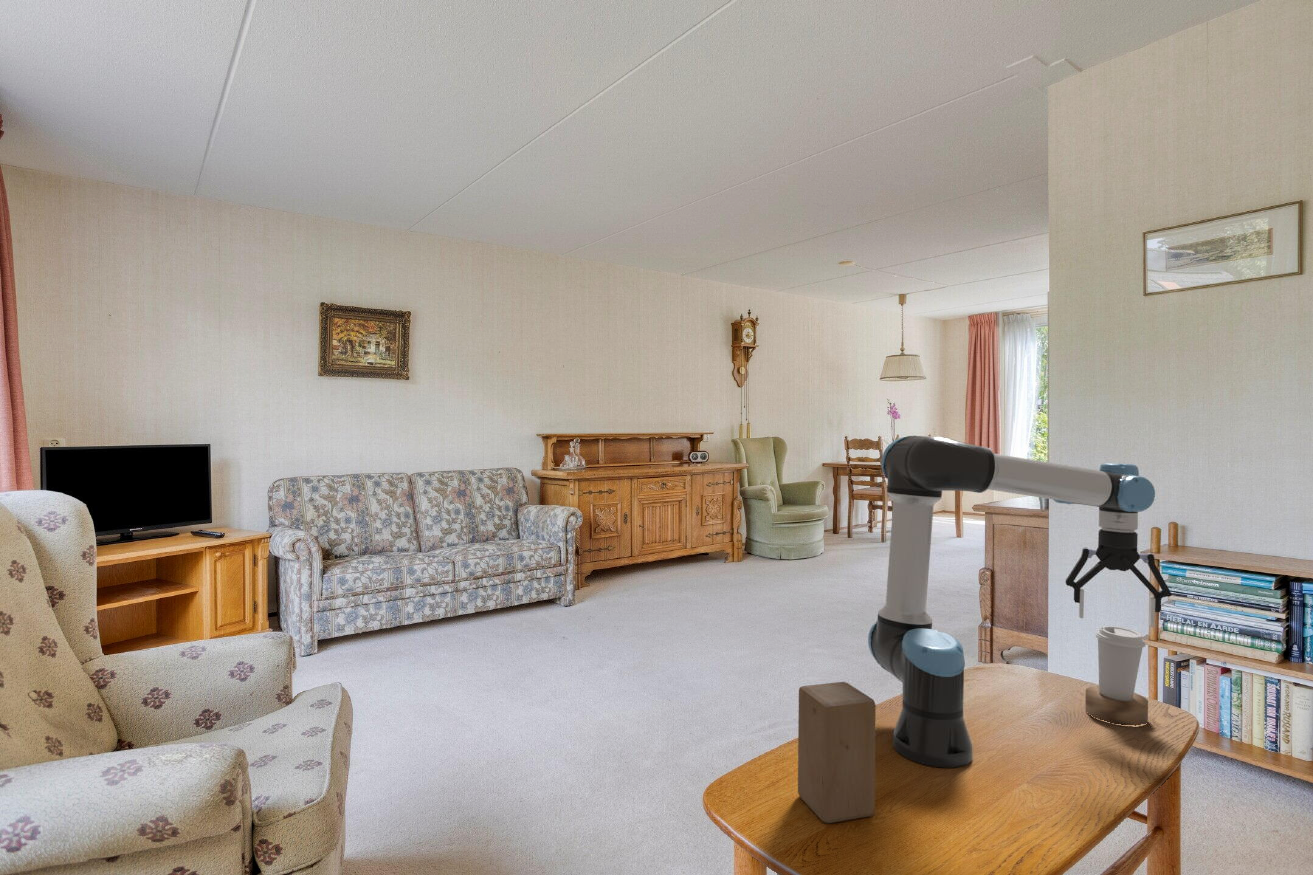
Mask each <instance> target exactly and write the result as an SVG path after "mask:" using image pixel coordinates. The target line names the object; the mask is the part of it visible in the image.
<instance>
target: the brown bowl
mask: <svg viewBox="0 0 1313 875" xmlns="http://www.w3.org/2000/svg"><path fill="white" fill-rule="evenodd" d="M1084 705H1085V710H1086V711H1085V713H1086V712H1088V714H1090V715H1092V716H1093V717H1095V718H1098V719H1100V720H1104V721H1107V722H1110V723H1114V724H1121V725H1135V726H1136V725H1141V724H1146V723H1147V722H1148V723H1149V701H1148V699H1147V698H1146V697H1145V696H1143V695H1141V694H1139V693H1136V692H1134V695H1133V699H1132V700H1131V701H1120V700H1115V699H1111V698H1108V697H1106V696H1104V695H1102V694H1101V693H1100V692H1099V685H1097V686H1096V685H1094V686H1089V687H1087V688H1086V689H1085V704H1084ZM1088 714H1087V715H1088Z"/></svg>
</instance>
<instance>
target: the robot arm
mask: <svg viewBox="0 0 1313 875" xmlns="http://www.w3.org/2000/svg"><path fill="white" fill-rule="evenodd" d="M880 465H881V466H880V467H881V471H882V473H883V475H884V477H885V479H887V482H886V483H887V484H886V488H887V489H886V494H887V495H888V496H889V497H890V499H891V500H892V513H891V525H890V526H891V528H890V529H891V530H890V538H889V539H890V541H889V542H890V543H889V554H888V555H889V556H888V566H887V567H888V568H887V581H886V582H887V583H886V596H885V605H884V606H883V607H882V608H881V609H879V610H878V611H877V620H876V621H875V623H874V624H872V626H871V627H870V629H869V632H868V636H867V637H868V638H867V642H868V648H869V652H870V654H871V656H872V657H873V659H874V660H875V661H876V663H877V664H878V665H879V666H881V668H882V669H884V670H885V671H886V672H888V673H890V674H891V675H893V676H894V677H895V678H896V679H897V680H898V681H900V682H901V683H902V693H901V694H902V699H901V700H902V704H901V705H902V706H901V708H902V709H901V711H900V713H899V716H898V719H897V721H896V725H895V728H894V730H893V735H892V738H893V739H892V744H893V748H894V749H895V751H896V752H897V753H898V754H900V755H901V756H902V757H904V758H906V759H908V760H910V761H913V762H916V763H919V764H922V765H926V766H930V767H937V768H958V767H959V768H960V767H963V766H966V765H968V764H970V763H971V762H972V760H973V749H974V748H973V743H972V740H971V738H970V735H969V732H968V731H969V730H968V729H967V725H966V722H965V719H964V695H965V694H964V692H965V691H964V690H965V689H964V688H965V687H964V685H965V683H964V682H965V681H964V680H965V666H966V663H965V662H966V661H965V655H964V653H965V652H964V648H963V646H962V644H961V642H960V641H959V640H958V639H957V638H955V637H954V636H952V635H951V634H949V633H946V632H940V631H939V630H937V629H933V618H932V617H931V616H930V614H928V612H927V598H928V587H929V586H928V585H929V573H930V572H929V571H930V558H931V546H932V531H933V530H932V529H933V521H934V520H933V519H934V506H935V504H936V503H938V502H940V500H942V496H943V492H945V491H947V492H950V491H951V492H952V491H954V492H955V491H958V492H971V493H977V494H983V493H985V492H986V491H989V490H990V491H996V492H1004V493H1011V494H1016V495H1023V496H1029V497H1034V498H1042V499H1048V500H1053V501H1054V502H1055V503H1057V504H1066V505H1084V506H1090V507H1096V508H1097V507H1098V527H1099V528H1100V529H1099V530H1098V534H1097V535H1098V537H1097V538H1098V541H1097V549H1093V548H1092V549H1091V548H1088V547H1083V548H1082V550H1081V556H1080V557H1079V559H1078V561H1077V562H1076V564H1075V565H1074V567H1073V568H1072V570H1071V571H1070V573H1069V574H1068V576H1067V577H1066V579H1065V581H1064V582H1065V585H1066V586H1067V587H1071V588H1073V602H1074V603H1077V604H1078V617H1079V618H1080V619H1084V608H1085V607H1084V606H1085V605H1084V602H1085V589H1084V588H1083V587H1084V586H1085V585H1086V584H1087V583H1088V582H1090V581H1091V580H1092V579H1093V578H1095V576H1096V575H1098V574H1099V573H1100V572H1102V571H1103V570H1104V569H1105V568H1106V569H1107V570H1109V571H1121V572H1127V571H1129V570H1130V571H1131V572H1132V573H1133V574H1134V575H1135V576H1136V578H1138V580H1139V581H1140V582H1141V583H1142V585H1144V587H1146V588H1147V590H1149V592H1150V593H1151V594H1152V595H1149V596H1148V597H1149V599H1148V600H1149V601H1148V625H1149V627H1150V628H1155V625H1156V621H1155V620H1156V613H1161V612H1162V599H1163V598H1167V597H1172V592H1171V590H1170V588H1169V587H1168V584H1167V583H1166V581H1165V579H1164V578H1163V576H1162V574H1161V573H1160V570H1159V569H1158V567H1157V565H1156V561H1155V560H1156V559H1155V556H1154V554H1153V553H1151V552H1147V553H1139V552H1138V551H1139V550H1138V533H1137V532H1136V531H1137V530H1138V529H1139V528H1138V526H1139V524H1138V523H1139V522H1138V521H1139V513H1140V512H1144V511H1146V510H1148V509H1149V508H1150V507H1151V506H1152V505H1153V504H1154V502H1155V496H1156V490H1155V487H1154V485H1153V483H1152V482H1151V481H1150V479H1148V478H1146V477H1144V476H1140V473H1139V467H1138V466H1137V465H1136V464H1133V463H1120V462H1119V463H1113V462H1106V463H1105V462H1104V463H1102V464H1100V466H1099V467H1100V468H1099V470H1097V469H1091V468H1086V467H1079V466H1073V465H1068V464H1067V465H1066V464H1060V463H1056V462H1055V463H1054V462H1048V461H1042V460H1036V459H1031V458H1024V457H1017V456H1012V455H1011V456H1010V455H1005V454H998V453H995V452H994V451H993V450H992V449H991V448H990V447H986V446H981V445H975V444H971V443H967V442H963V441H960V440H955V439H952V438H949V437H944V436H937V435H936V436H935V435H934V436H932V435H930V436H928V435H925V436H923V435H915V434H914V435H908V436H903V437H899V438H896V439H895V440H893V441H892V442H890V443H889V444H888V445H887V446H886V448H885V449H884V451H883V453H882V456H881V461H880ZM1093 556H1096V557H1097V558H1098V560H1099V561H1098V562H1097V563H1096V564H1095V565H1094V566H1093V567H1091V568H1090V569H1089V570H1088V571H1087V572H1086V573H1084V574H1083V575H1082V576H1081V577H1080V578H1079V579H1078V580H1077V581H1075V580H1076V578H1077V577H1078V575H1079V574H1080V572H1081V571H1082V570H1083V568H1084V566H1085V564H1086V563H1087V561H1088V559H1091V558H1093ZM1139 560H1142V562H1144V563H1145V564H1147V566H1148V568H1149V569H1150V571H1151V573H1152V576H1154V579H1156V582H1157V583H1158V585H1159V587H1160V589H1161V590H1158V589H1157V588H1156V587H1155V586H1154V585H1153V584H1152V583H1151V582H1150V581H1149V579H1147V577H1146V576H1145V575H1144V574H1143V573H1142V572H1141V571H1140V569H1138V567H1136V566H1135V564H1136V563H1137V562H1138V561H1139Z"/></svg>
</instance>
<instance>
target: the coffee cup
mask: <svg viewBox="0 0 1313 875" xmlns="http://www.w3.org/2000/svg"><path fill="white" fill-rule="evenodd" d="M1095 638H1097V649H1098V650H1097V651H1098V656H1097V657H1098V686H1099V692H1100V693H1101V694H1102V695H1104V696H1106V697H1108V698H1111V699H1115V700H1120V701H1131V700H1132V699H1133V695H1134V693H1135V689H1136V684H1137V679H1138V673H1139V668H1140V662H1141V657H1142V653H1143V648H1145V647H1146V642H1145V640H1144V638H1143V635H1142V634H1141V633H1140V632H1138V631H1135V630H1132V629H1130V628H1125V627H1121V626H1114V625H1103V626H1101V627H1100V628H1099V630H1097V632H1096V633H1095Z"/></svg>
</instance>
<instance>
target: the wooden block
mask: <svg viewBox="0 0 1313 875" xmlns="http://www.w3.org/2000/svg"><path fill="white" fill-rule="evenodd" d="M876 707H877V706H876V703H875V700H874V699H873V698H872V697H870V696H868V695H867V694H865V693H863V692H862V691H861V690H859V689H858V688H856V687H855V686H853V685H851V684H850V683H848V682H846V681H837V682H830V683H828V682H827V683H820V684H819V683H818V684H817V683H816V684H811V685H810V684H809V685H802V686H799V688H798V722H797V723H798V730H797V731H798V734H797V736H798V737H797V739H798V740H797V751H798V752H797V756H798V757H797V793H798V796H799V798H800V799H801V800H802V801H803V802H804V803H805V804H806V805H807V806H808V807H809V808H810V810H812V812H813V813H815V815H816V816H817V817H818V818H819V819H820V820H821V821H822V822H823V823H826V824H832V823H838V822H844V821H849V820H856V819H860V818H861V819H862V818H866V817H872V816H873V815H874V814H875V812H876V810H875V809H876V808H875V806H876V805H875V804H876V802H875V801H876V798H875V796H876V794H875V793H876V792H875V791H876V786H875V785H876Z"/></svg>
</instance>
